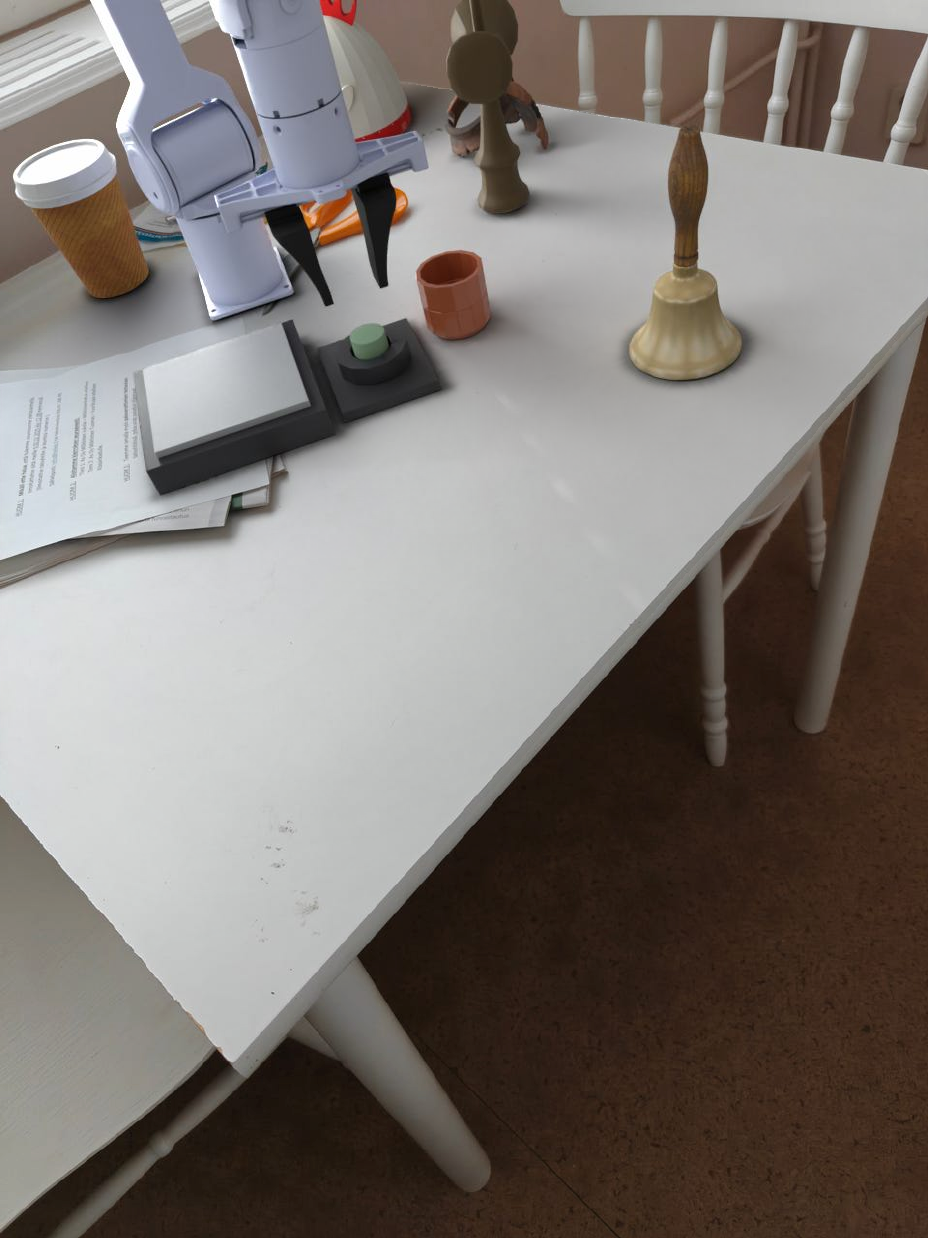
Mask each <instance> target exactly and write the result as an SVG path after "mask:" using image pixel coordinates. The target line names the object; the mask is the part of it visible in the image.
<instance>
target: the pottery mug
mask: <svg viewBox="0 0 928 1238" xmlns="http://www.w3.org/2000/svg"><path fill="white" fill-rule="evenodd" d="M499 102H500V106H501V109H502V113H503V117H504V120H505V123H506V125H512V124H516V123H518V122H519V121H520V120H521V122H522V124H523V128H524V130H525V132H526V133H530V132H535V135H536V137H537V139H538V140H540V145H541V148H542V149H543V150H548V146H549V143H550V136H549V132H548V130H547V128H546V125H545V120H544V117H543V115H542V113H541V112H540V108H539V107H538V106H537V104H536V102H535V100H534V99H533V97H532V95H531V93H530V92H528V91H527V90H526V88H524V87H523V86H522V85H521V84H520V83H517V82H516V81H515V79H514V77H513V76H512V80H511V82H510V85H509V87H508V90H507V91H506V92H505V93H504V94H503V95H502V96H501V97H499ZM469 105H470V103H468V102H466V101H463V100H461V99H459V97H458V96H457V95H456V94H455V97H454V98H453V99H452V101H451V102H450V104H449V106H448V108H447V111H446V114H447V116H448V117H449V118H447V119H446V122H445V124H444V126H443V127H444V130H445V132H446V133H447V134H448V135H449V136H450V139H449V140H450V145H451V151H452V153H454V155H457V156H458V157H462V156H468V155H470V153H475V152H478V150H479V148H480V138H481V114H479V116H477V117H476V118H475V119H474V120H473V121H471V122H470V123H469V124H467V125H465V126H462V127H457V125H458V122H459V120H460V118H461V116H462V115H463V112H464V110H465V109H466V108H467V107H468V106H469Z"/></svg>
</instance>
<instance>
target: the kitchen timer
mask: <svg viewBox="0 0 928 1238" xmlns="http://www.w3.org/2000/svg"><path fill="white" fill-rule="evenodd" d="M319 2H320V6H321V10H322V14H323V18H324V22H325V26H326V30H327V34H328V38H329V41H330V45H331V49H332V53H333V57H334V61H335V65H336V69H337V72H338V76H339V80H340V84H341V88H342V92H343V96H344V100H345V104H346V108H347V111H348V115H349V119H350V123H351V127H352V131H353V135H354V139H355V143H357V142H363V141H368V140H374V139H380V138H386V137H392V136H397V135H401V134H404V132H405V131H406V130H407V129H408V127H409V126H410V122H411V119H412V117H411V112H410V107H409V102H408V100H407V97H406V94H405V91H404V89H403V85H402V83H401V82H400V80H399V77H398V75H397V73H396V71H395V69H394V67H393V65H392V64H391V62H390V59H389V58H388V56H387V55H386V53H385V51H384V50H383V48H382V46H381V45H380V44H379V43H378V42H377V41H376V39H375V38H374V37H373V36H372V35H371V34H370V32H368V31H367V30H366V29H365V28H364V27H363V26H361V25H360V24H358V23H357V22H356V21H355V18H356V13H357V4H358V3H357V2H358V1H357V0H353V2H352V4H351V8H350V10H349V12H346V13H345V11H344V9H343V4H342V0H333V1H332V0H319Z"/></svg>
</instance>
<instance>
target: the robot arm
mask: <svg viewBox="0 0 928 1238" xmlns="http://www.w3.org/2000/svg"><path fill="white" fill-rule="evenodd" d="M208 1H209V4H210V7H211V9H212V12H213V16H214V18H215V21H216V22H218V24H219V27H220V29H221V31H222V32H223V33H225V34H228V35H230V38H231V41H232V44H233V47H234V50H235V52H236V56H237V59H238V62H239V65H240V68H241V72H242V75H243V77H244V81H245V84H246V87H247V90H248V93H249V96H250V99H251V102H252V105H253V108H254V111H255V114H256V117H257V121H258V124H259V126H260V130H261V133H262V135H263V139H264V142H265V144H266V148H267V151H268V154H269V157H270V160H271V163H272V166H273V167H272V168H271V169H269V170H267V171H266V172H263V173H261V174H260V175H258V176H256V173H257V172H259V171H260V168H261V164H262V147H261V143H260V139H259V136H258V134H257V132H256V130H255V127H254V126H253V122H252V121H251V119H250V118H249V117H248V114H247V113H246V112H245V110H243V108H242V107H241V105H240V103H239V101H238V100H237V98H236V96H235V94H234V92H233V90H232V88H231V86H230V85H229V83H228V81H227V80H226V79H225V78H223V77H222V76H220V75H218V74H216V73H214V72H211V71H208V70H205V69H202V68H200V67H197V66H195V65H191V64H190V63H189V62H188V59H187V58H186V57H187V56H186V55H185V53H184V50H183V48H182V46H181V44H180V42H179V39H178V37H177V34H176V32H175V30H174V28H173V25H172V24H171V21H170V19H169V16H168V15H167V12H166V10H165V8H164V6H163V4H162V1H161V0H90V2H91V4H92V6H93V8H94V10H95V12H96V14H97V16H98V18H99V21H100V23H101V25H102V26H103V29H104V31H105V34H106V35H107V37H108V39H109V41H110V43H111V45H112V47H113V49H114V51H115V54H116V55H117V57H118V59H119V61H120V64H121V66H122V68H123V70H124V72H125V74H126V76H127V78H128V80H129V82H130V84H129V88H128V91H127V94H126V97H125V99H124V101H123V104H122V106H121V109H120V111H119V114H118V116H117V121H116V126H115V127H116V129H117V135H118V138H119V139H120V141H121V143H122V146H123V148H124V150H125V153H126V156H127V161H128V164H129V167H130V169H131V171H132V174H133V176H134V179H135V180H136V182H137V184H138V186H139V188H140V189H141V191H142V192H143V194H144V195H145V197H146V198H147V199H148V201H149V202H150V204H151V205H152V206H153V207H154V208H155V209H157V211H160V212H161V213H164V214H165V215H168V216H173V217H174V218H175V221H176V222H177V225H178V227H179V228H178V229H179V230H180V232H181V235H182V237H183V240H184V242H185V245H186V246H187V249H188V251H189V253H190V255H191V258H192V260H193V263H194V265H195V267H196V270H197V272H198V276H199V281H200V284H201V289H202V292H203V296H204V301H205V304H206V308H207V312H208V316H209V319H210V320H211V321H217V320H220V319H222V318H226V317H229V316H232V315H235V314H238V313H241V312H244V311H247V310H250V309H253V308H256V307H259V306H262V305H265V304H268V303H271V302H274V301H277V300H280V299H283V298H286V297H289V296H291V295H293V294H294V288H293V286H292V283H291V279H290V277H289V275H288V272H287V270H286V267H285V265H284V262H283V260H282V257H281V254H280V252H279V250H278V247H277V246H273V243H272V240H271V237H270V234H269V232H268V229H267V226H266V223H265V220H266V222H267V225H268V228H269V230H270V232H271V235H272V237H273V238H274V239H275V240H276V242H277V243H278V244H279V245H280V246H281V247H282V249H284V250H285V251H286V252H287V253H288V254H289V255H290V256H291V258H293V259H294V261H296V263H297V264H298V265H299V266H300V267H301V269H302V270H303V271H304V273H305V274H306V276H308V278H309V279H310V281H311V282H312V284H313V286H314V287H315V289H316V290H317V292H318V294H319V296H320V298H321V300H322V303H323V305H324V307H326V308H328V307H330V306H333V305H335V301H334V299H333V296H332V292H331V290H330V287H329V285H328V283H327V280H326V278H325V276H324V273H323V271H322V267H321V265H320V262H319V259H318V255H317V252H316V249H315V245H314V241H313V238H312V234H311V231H310V229H309V226H308V224H307V222H306V219H305V216H304V213H303V211H302V209H301V207H300V206H304V205H308V204H310V203H314V202H316V203H317V204H319V205H324V204H327V203H331V202H333V201H334V202H335V201H337V200H339V199H342V198H345V197H346V196H347V194H348V192H347V191H350V192H351V195H352V199H353V201H354V205H355V208H356V211H357V212H356V213H357V215H358V218H359V222H360V224H361V229H362V232H363V237H364V242H365V246H366V250H367V251H366V252H367V256H368V261H369V266H370V269H371V272H372V276H373V278H374V280H375V282H376V284H377V286H378V288H379V289H380V290H381V289H384V288H386V287H387V288H388V286H389V278H388V251H389V239H390V233H391V228H392V224H393V223H392V222H393V219H394V215H395V211H396V209H397V193H396V189H395V187H394V186H393V184H392V181H391V177H393V176H396V175H398V174H402V173H405V172H409V171H412V172H413V173H418V172H419V173H420V172H422V171H425V170H428V169H429V163H428V162H429V161H428V156H427V153H426V152H427V151H426V148H425V143H424V139H422V137H421V136H420V134H419V132H417V130H411V131H409V132H405V133H402V134H401V135H397V136H392V137H386V138H380V139H374V140H368V141H363V142H357V143H355V139H354V135H353V131H352V127H351V123H350V119H349V115H348V111H347V108H346V104H345V100H344V96H343V92H342V88H341V84H340V80H339V76H338V72H337V69H336V65H335V61H334V57H333V53H332V49H331V45H330V41H329V38H328V34H327V30H326V26H325V22H324V18H323V14H322V10H321V6H320V0H208ZM200 103H202V104H204V105H202V106H200V107H198V108H196V109H194V110H192V111H190V112H187V113H185V114H183V115H181V116H179V117H177V118H175V119H173V120H170V121H169V122H166V123H164V124H162V125H160V126H158V127H156V126H157V125H158V124H160V123H161V122H162V121H165V120H167V119H169V118H171V117H173V116H174V115H177V114H179V113H181V112H183V111H186V110H188V109H189V108H192V107H194V106H195V105H198V104H200ZM155 127H156V128H155ZM264 218H265V220H264Z"/></svg>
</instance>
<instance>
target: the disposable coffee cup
mask: <svg viewBox="0 0 928 1238" xmlns="http://www.w3.org/2000/svg"><path fill="white" fill-rule="evenodd" d="M117 171H118V169H117V159H116V157H115V155H114V154H113V153H111V152H110V151H109V150H108V149H107V147H106V146H105V145H104V143H102V142H101V141H99V140H96V139H91V138H83V139H73V140H70V141H69V140H68V141H65V142H60V143H58V144H54V145H51V146H50V147H47V148H44V149H42V150H41V151H38V152H36V153H34V154H32V155H30V156H29V157H28V158H26V159H25V160H23V161H22V162H21V163H19V165H18V166H17V167H16V169H15V170H14V172H13V175H12V178H13V182H14V185H15V191H14V193H15V195H16V197H17V198H18V199H19V200H20V201H22V202H23V203H24V204H25V206H27V207H28V208H29V209H30V210H31V212H32V213H33V214H34V216H35V217H36V219H37V220H38V221H39V223H40V224H41V226H42V227H43V228H44V230H45V232H46V233H47V235H48V236H49V237H50V239H51V240H52V242H53V243H54V244H55V245H56V247H57V249H58V250H59V251H60V253H61V254H62V256H63V258H64V259H65V260H66V261H67V263H68V264H69V266H70V267H71V269H72V270H73V271H74V273H75V275H76V276H77V277H78V278H79V280H80V282H81V283H82V284H83V286H84V288H85V289H86V290H87V292H88V293H89V295H90V296H92V297H94V298H99V299H108V298H114V297H117V296H121V295H124V294H126V293H129V292H131V291H132V290H135V289H137V288H138V287H139V286H140V285H141V284H143V282H145V281H146V279H147V278H148V275H149V273H150V272H149V267H148V264H147V262H146V258H145V256H144V253H143V250H142V247H141V243H140V240H139V238H138V235H137V234H138V233H137V232H136V228H135V225H134V221H133V219H132V217H131V212H130V210H129V207H128V204H127V202H126V198H125V196H124V195H125V194H124V192H123V189H122V186H121V183H120V180H119V177H118V173H117Z"/></svg>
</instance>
